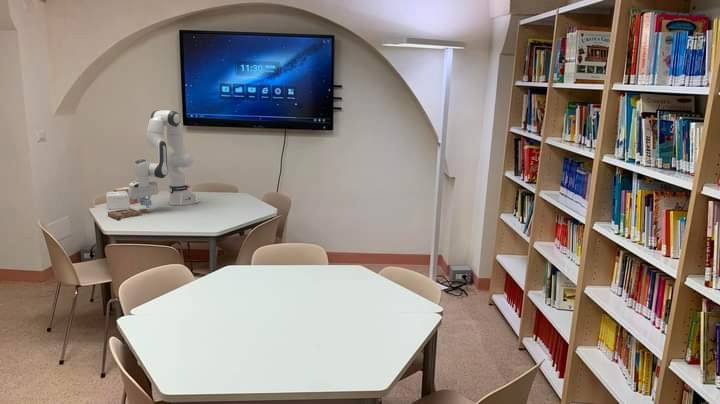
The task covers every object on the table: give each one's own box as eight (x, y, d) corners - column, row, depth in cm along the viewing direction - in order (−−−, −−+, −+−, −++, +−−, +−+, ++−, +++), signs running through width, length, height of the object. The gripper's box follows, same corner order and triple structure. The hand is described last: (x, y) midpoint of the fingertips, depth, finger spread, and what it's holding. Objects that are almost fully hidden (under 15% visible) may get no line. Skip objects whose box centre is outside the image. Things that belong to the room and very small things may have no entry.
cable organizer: (129, 206, 377) (128, 190, 375) (130, 209, 368) (128, 193, 366) (107, 207, 371) (105, 192, 369) (107, 211, 362) (105, 195, 359)
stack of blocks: (141, 200, 397) (140, 185, 394) (146, 201, 393) (145, 186, 391) (114, 205, 380) (113, 188, 378) (119, 206, 377) (117, 190, 374)
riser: (145, 212, 361) (145, 208, 361) (148, 213, 358) (148, 209, 358) (139, 213, 358) (139, 209, 358) (142, 214, 355) (142, 210, 355)
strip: (143, 203, 364) (142, 196, 363) (152, 207, 355) (151, 200, 354) (137, 204, 362) (136, 197, 360) (146, 208, 352) (145, 201, 351)
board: (131, 212, 360) (131, 208, 359) (141, 216, 349) (141, 212, 348) (108, 215, 348) (107, 211, 348) (117, 220, 338) (117, 216, 337)
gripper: (155, 180, 364) (156, 199, 367) (126, 184, 349) (128, 204, 353) (159, 181, 359) (160, 200, 363) (129, 186, 345) (132, 205, 348)
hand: (144, 202), depth 358 cm, fingers closed on strip, 4 cm apart
